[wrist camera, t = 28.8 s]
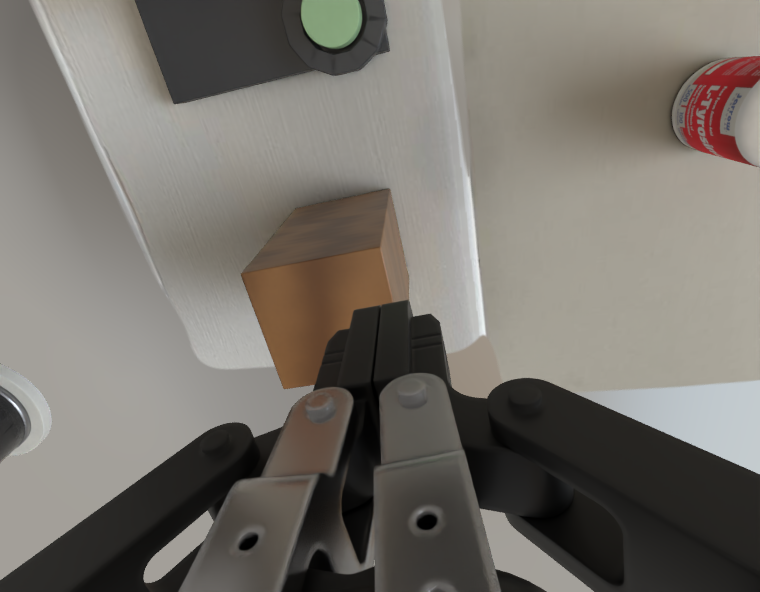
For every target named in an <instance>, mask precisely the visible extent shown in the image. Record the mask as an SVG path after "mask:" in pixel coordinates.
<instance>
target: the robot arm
mask: <svg viewBox="0 0 760 592" xmlns="http://www.w3.org/2000/svg"><path fill="white" fill-rule="evenodd" d="M324 354H325V355H324V356H323V360H322V365H321V366H320V370H319V373H318V376H317V380H316V383H315V386H314V390H313V392H311V393H309V394H307V395H305V396H303V397H302V398H301V399H300V400H298V401H297V402H296V403H295V404H294V405H293V407H292V408H291V410H290V412H289V414H288V416H287V419H286V421H285V423H284V425H283V427H281V428H278V429H276V430H273V431H271V432H268V433H266V434H263V435H260V436H258V437H255V438H254V437H253V435H252V432H251V430H250V428H249V427H248V426H247V425H245V424H243V423H227V424H223V425H220V426H217V427H215V428H212V429H210V430H209V431H207V432H205V433H204V434H202V435H201V436H199V437H198V438H196V439H195V440H194V441H192V442H191V443H190V444H188V445H187V446H185V447H184V448H183V449H181V450H180V451H179V452H177V453H176V454H174V455H173V456H172V457H170V458H169V459H167V460H166V461H165V462H163V463H162V464H160V465H159V466H158V467H156V468H155V469H154V470H152V471H151V472H149V473H148V474H147V475H145V476H144V477H142V478H141V479H140V480H138V481H137V482H136V483H135V484H133V485H131V486H130V487H129V488H127V489H126V490H125V491H123V492H122V493H120V494H119V495H118V496H117V497H115V498H114V499H112V500H111V501H110V502H108V503H107V504H105V505H104V506H102V507H101V508H100V509H98V510H97V511H96V512H94V513H93V514H91V515H90V516H89V517H87V518H86V519H84V520H83V521H82V522H80V523H79V524H78V525H76V526H75V527H74V528H72V529H71V530H69V531H68V532H67V533H65V534H64V535H63V536H61V537H60V538H58V539H57V540H55V541H54V542H53V543H51V544H50V545H49V546H47V547H46V548H44V549H43V550H42V551H40V552H39V553H37V554H36V555H35V556H33V557H32V558H31V559H29V560H28V561H26V562H25V563H24V564H22V565H21V566H20V567H18V568H17V569H15V570H14V571H13V572H11V573H10V574H9V575H7V576H6V577H4V578H3V579H2V580H0V592H546V591H545V590H543V589H541V588H540V587H538V586H536V585H534V584H532V583H531V582H529V581H527V580H524V579H522V578H520V577H517V576H515V575H513V574H510V573H507V572H503V571H500V570H496V569H495V566H494V562H493V559H492V555H491V551H490V547H489V543H488V539H487V536H486V532H485V528H484V524H483V520H482V517H481V513H480V509H479V508H481V509H486V510H492V511H497V512H503V513H505V515H506V517H507V519H508V521H509V523H510V524H511V525H512V526H513V527H514V528H515V529H516V530H517V531H518V532H520V533H521V534H522V535H524V536H525V537H526V538H527V539H529V540H530V541H531V542H532V543H534V544H535V545H536V546H538V547H539V548H540V549H541V550H542V551H544V552H545V553H547V554H548V555H549V556H550V557H551V558H553V559H554V560H555V561H557V562H558V563H559V564H560V565H562V566H563V567H564V568H565V569H567V570H568V571H569V572H570V573H572V574H573V575H574V576H575V577H577V578H578V579H579V580H581V581H582V582H583V583H584V584H586V585H587V586H588V587H590V588H591V589H592V590H593V591H594V592H760V474H757V473H755V472H753V471H751V470H748V469H746V468H744V467H741V466H739V465H737V464H734V463H732V462H730V461H728V460H725V459H723V458H721V457H719V456H716V455H714V454H712V453H709V452H707V451H705V450H703V449H700V448H698V447H696V446H693V445H691V444H689V443H687V442H684V441H682V440H680V439H677V438H675V437H673V436H671V435H668V434H666V433H664V432H661V431H659V430H657V429H655V428H652V427H650V426H648V425H645V424H643V423H641V422H638V421H636V420H634V419H632V418H630V417H627V416H625V415H623V414H620V413H618V412H616V411H614V410H611V409H609V408H607V407H604V406H602V405H600V404H598V403H595V402H593V401H591V400H588V399H586V398H584V397H582V396H579V395H577V394H575V393H572V392H570V391H568V390H566V389H563V388H561V387H559V386H556V385H554V384H552V383H549V382H547V381H544V380H540V379H533V378H521V379H514V380H510V381H507V382H504V383H502V384H500V385H499V386H497V387H496V388H495V389H493V390H492V391H491V393H490V394H489V396H488V398H487V399H485V398H475V397H469V396H466V395H463V394H461V393H459V392H457V391H456V390H454V389H453V388H452V386H451V378H450V372H449V366H448V361H447V356H446V351H445V346H444V341H443V336H442V331H441V327H440V322H439V321H438V320H437V319H436V318H435V317H434V316H432V315H431V314H426V315H420V316H415V317H413V314H412V310H411V306H410V302H409V300H404V301H398V302H393V303H388V304H382V306H381V305H377V306H372V307H367V308H361V309H356V310H354V311H353V315H352V320H351V324H350V328H349V329H344V330H338V331H337V332H336V333H335V334H334V336H333V337H332V338H331V339H330V340H329V341H328V343H327V346H326V349H325V353H324ZM30 431H31V421H30V418H29V415H28V413H27V411H26V409H25V408H24V406H23V405H22V403H21V402H20V401H19V400H18V399H17V398H16V397H15V396H14V395H13V394H12V393H10V392H9V391H8V390H6V389H5V388H3V387H1V386H0V463H1V462H2V461H3V460H4V459H5V458H6V457H7V456H8V455H9V454H10V453H11V452H12V451H13V450H14V449H16V448H17V447H19V446H20V445H21V444H22V443H23V442H24V441H25V440H26V439H27V438H28V436H29V434H30ZM207 510H208V511H209V513H210V515H211V517H212V519H213V521H214V523H213V525H212V527H211V529H210V531H209V532H208V534H207V536H206V539H205V540H204V541H203V542H202V543H201V544H200V545H199V546H197V547H196V548H195V549H194V550H193V551H192V552H191V553H190V554H189V555H187V556H186V557H185V558H184V559H183V560H182V561H181V562H179V563H178V564H177V565H176V566H175V567H174V568H173V569H172V570H171V571H170V572H168V573H167V574H166V575H165V576H164V577H162V578H161V579H159V580H158V581H155V582H152V583H144V580H143V575H144V570H145V568H146V566H147V564H148V562H149V561H150V560H151V558H152V557H153V556H154V555H155V554H156V553H157V552H159V551H160V550H161V549H162V548H163V547H164V546H166V545H167V544H168V543H169V542H170V541H171V540H173V539H174V538H175V537H176V536H177V535H179V534H180V533H181V532H182V531H183V530H184V529H186V528H187V527H188V526H189V525H190V524H192V523H193V522H194V521H195V520H196V519H198V518H199V517H200V516H201V515H202V514H203V513H204V512H206V511H207ZM374 559H375V566H374ZM373 566H374V567H373Z"/></svg>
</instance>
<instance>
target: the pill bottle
mask: <svg viewBox="0 0 760 592" xmlns="http://www.w3.org/2000/svg"><path fill="white" fill-rule="evenodd" d="M672 123H673V128H674V131H675V133H676V135H677V137H678V138H679V139H680V141H681V142H682V143H683V144H685V145H686V146H688V147H690V148H692V149H695V150H698V151H701V152H704V153H708V154H712V155H715V156H719V157H723V158H727V159H730V160H734V161H738V162H741V163H745V164H749V165H752V166H756V167H760V56H753V57H733V58H725V59H720V60H717V61H714V62H712V63H710V64H708V65H706V66H704V67H702V68H701V69H699V70H698V71H697V72H695V73H694V74H693V75H692V76H691V77H690V78H689V79H688V80H687V81H686V82H685V84H684V85H683V86H682V88H681V89H680V91H679V93H678V95H677V97H676V99H675V102H674V105H673V111H672Z"/></svg>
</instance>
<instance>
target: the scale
mask: <svg viewBox="0 0 760 592" xmlns="http://www.w3.org/2000/svg"><path fill="white" fill-rule="evenodd" d="M358 1H359V3H360V6H361V10H362V25H361V29H360V31H359V34H358V35H357V37H356V38H355V40H354V41H353V42H352V43H351V44H349V45H348V46H346V47H344V48H341V49H330V48H326V47H323V46H321V45H319V44H317V43H316V42H314V41H313V40H312V39H311V38H310V37H309V36H308V34H307V33H306V31H305V29H304V27H303V24H302V20H301V4H302V0H135V2H136V5H137V8H138V10H139V13H140V16H141V18H142V21H143V23H144V26H145V29H146V31H147V34H148V37H149V39H150V42H151V45H152V47H153V50H154V53H155V55H156V58H157V61H158V63H159V66H160V69H161V71H162V74H163V76H164V79H165V82H166V84H167V87H168V90H169V92H170V95H171V98H172V100H173V103H174V104H180V103H186V102H190V101H194V100H198V99H202V98H206V97H210V96H214V95H218V94H222V93H226V92H230V91H234V90H238V89H242V88H246V87H250V86H254V85H258V84H262V83H266V82H270V81H273V80H277V79H281V78H285V77H289V76H293V75H297V74H301V73H305V72H309V71H313V70H318V71H321V72H324V73H327V74H330V75H342V74H346V73H350V72H354V71H358V70H361V69H362V68H363V67H364V66H365V65H366V64H367V63H368V62H369V61H370V60H371V59H372V58H373V57H374V56H375V55H377V54H381V53H385V52H389V51H390V49H389V43H388V38H387V33H386V26H387V15H386V10H385V5H384V0H358Z"/></svg>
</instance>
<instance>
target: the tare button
mask: <svg viewBox="0 0 760 592" xmlns="http://www.w3.org/2000/svg"><path fill="white" fill-rule="evenodd" d="M301 20H302V24H303V27H304V29H305V31H306V33H307V34H308V36H309V37H310V38H311V39H312V40H313V41H314V42H316V43H317V44H319V45H321V46H323V47H326V48H330V49H341V48H344V47H346V46H348V45H349V44H351V43H352V42H353V41H354V40H355V38H356V37H357V35H358V34H359V31H360V29H361V25H362V10H361V6H360V3H359V1H358V0H302V4H301Z"/></svg>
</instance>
